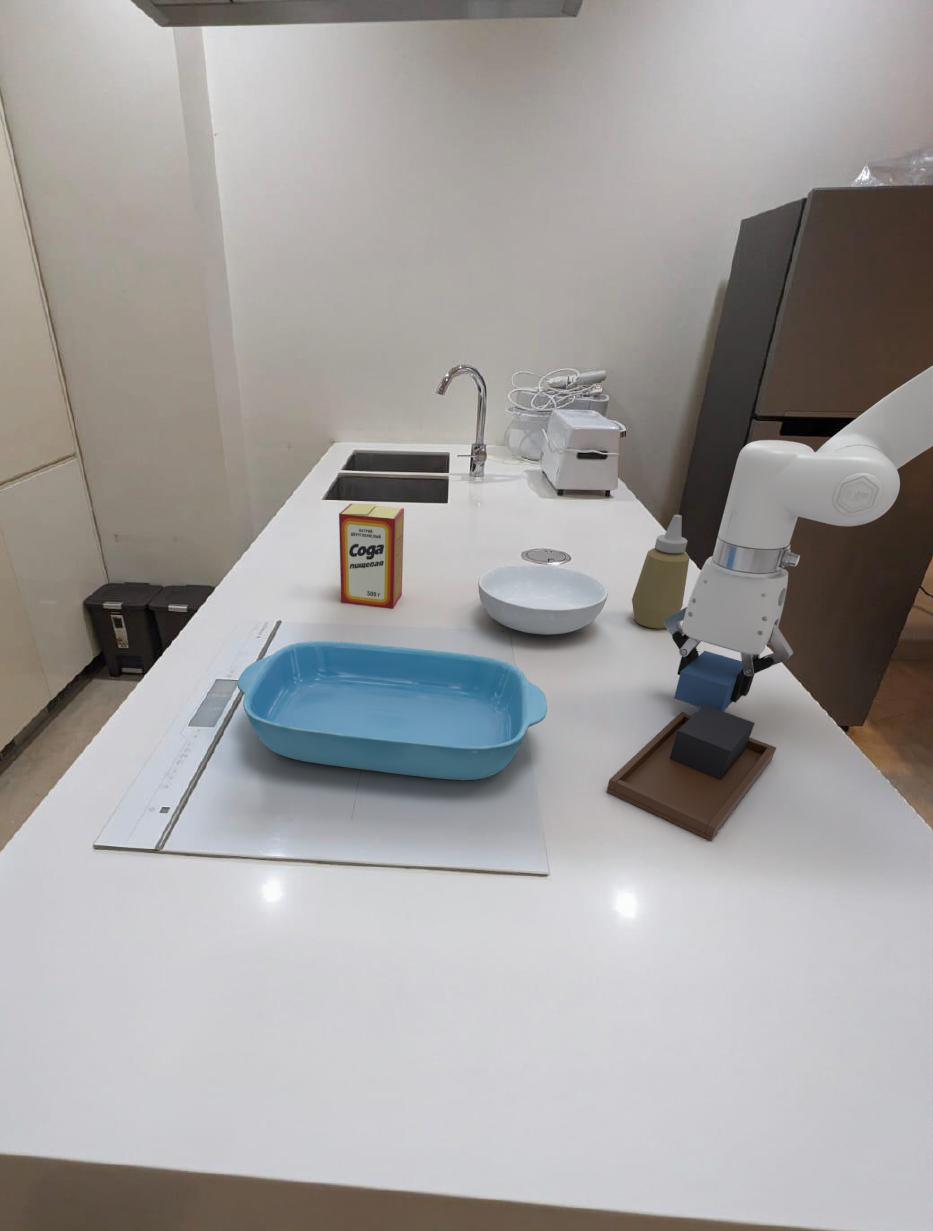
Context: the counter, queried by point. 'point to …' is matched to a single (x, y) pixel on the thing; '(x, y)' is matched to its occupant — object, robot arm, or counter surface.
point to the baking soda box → (371, 554)
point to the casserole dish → (391, 708)
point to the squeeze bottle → (662, 578)
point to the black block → (711, 741)
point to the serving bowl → (541, 597)
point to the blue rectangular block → (708, 681)
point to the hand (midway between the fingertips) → (710, 688)
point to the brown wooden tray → (687, 783)
